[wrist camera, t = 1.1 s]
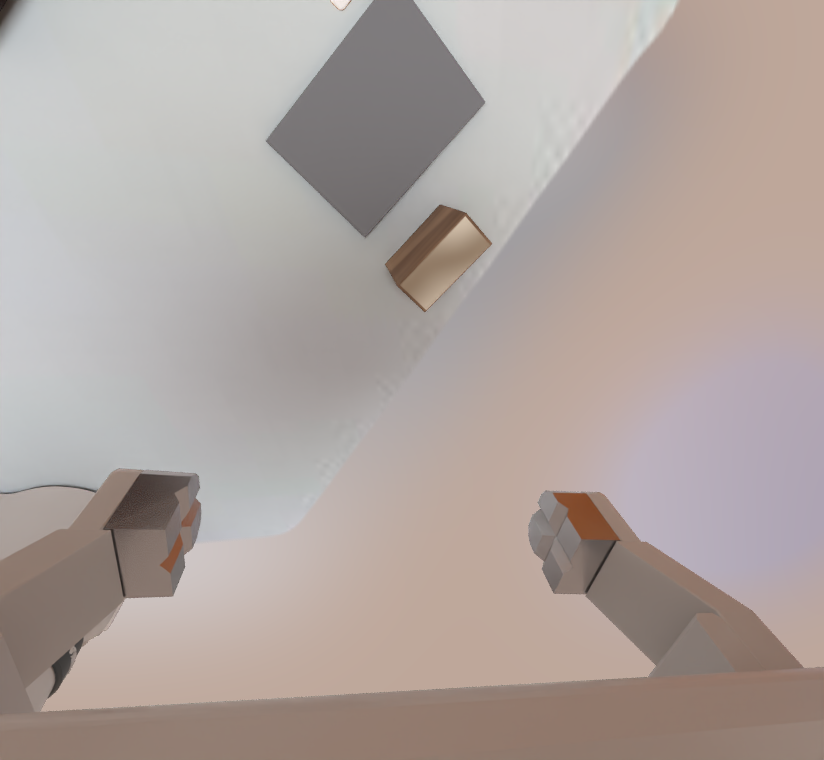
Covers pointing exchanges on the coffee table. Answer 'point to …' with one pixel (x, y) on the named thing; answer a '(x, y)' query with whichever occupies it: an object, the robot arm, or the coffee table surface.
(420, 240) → the wooden block
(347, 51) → the mat
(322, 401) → the coffee table surface
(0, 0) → the diary
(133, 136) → the coffee table surface
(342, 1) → the cell phone
